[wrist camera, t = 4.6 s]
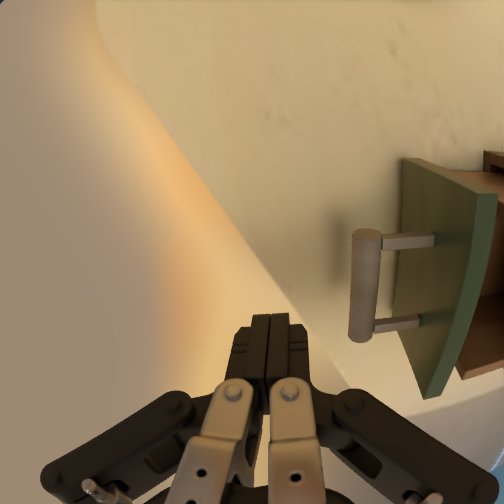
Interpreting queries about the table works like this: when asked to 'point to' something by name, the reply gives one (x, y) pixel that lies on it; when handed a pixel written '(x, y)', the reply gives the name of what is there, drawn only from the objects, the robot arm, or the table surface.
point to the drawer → (438, 275)
